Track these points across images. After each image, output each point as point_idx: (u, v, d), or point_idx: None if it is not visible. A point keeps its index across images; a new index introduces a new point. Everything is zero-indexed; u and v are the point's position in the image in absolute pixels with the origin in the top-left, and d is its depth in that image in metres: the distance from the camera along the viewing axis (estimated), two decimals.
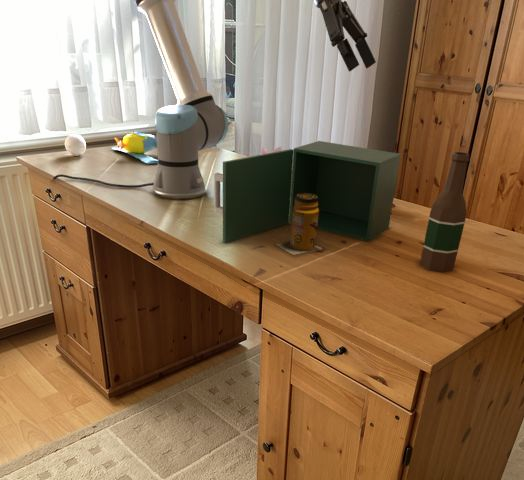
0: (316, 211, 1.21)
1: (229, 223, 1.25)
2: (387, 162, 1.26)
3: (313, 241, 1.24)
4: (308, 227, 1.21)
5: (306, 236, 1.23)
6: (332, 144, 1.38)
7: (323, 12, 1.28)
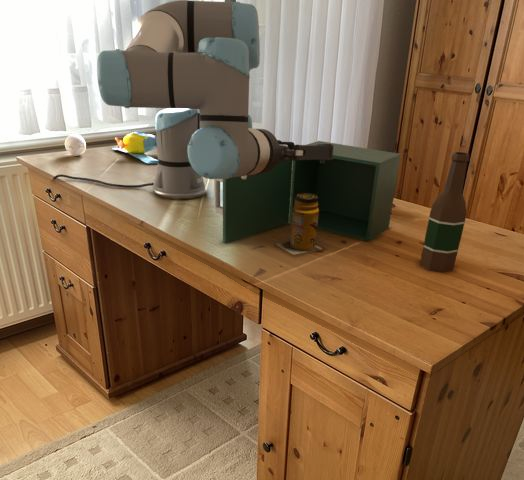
0: (316, 211, 1.21)
1: (229, 223, 1.25)
2: (387, 162, 1.26)
3: (313, 241, 1.24)
4: (308, 227, 1.21)
5: (306, 236, 1.23)
6: (332, 144, 1.38)
7: None
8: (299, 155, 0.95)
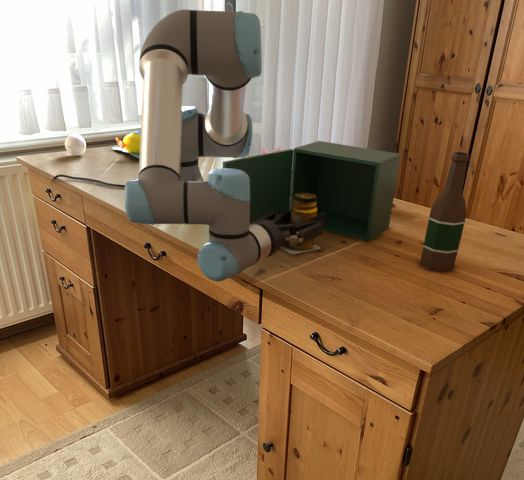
0: (314, 210, 1.21)
1: None
2: (387, 162, 1.26)
3: (312, 240, 1.24)
4: None
5: None
6: (332, 144, 1.38)
7: None
8: (302, 241, 1.12)
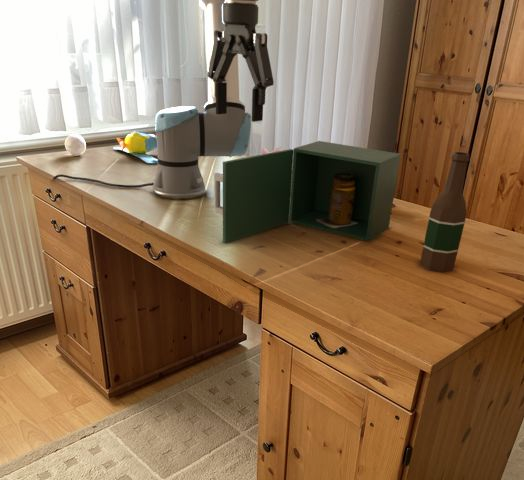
0: (353, 189, 1.35)
1: (229, 223, 1.25)
2: (387, 162, 1.26)
3: (350, 216, 1.38)
4: (346, 203, 1.36)
5: (344, 212, 1.37)
6: (332, 144, 1.38)
7: None
8: (262, 36, 1.10)
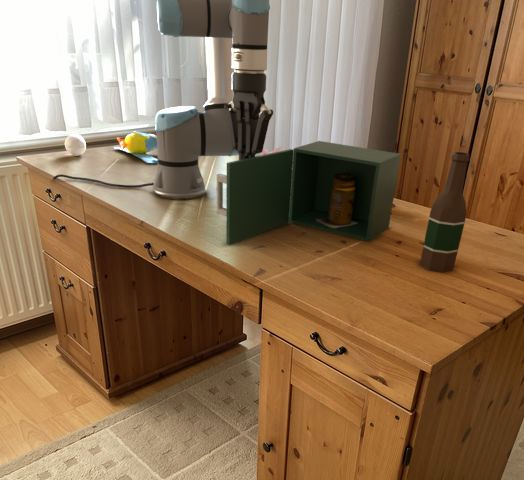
0: (353, 189, 1.35)
1: (233, 224, 1.24)
2: (387, 162, 1.26)
3: (350, 216, 1.38)
4: (346, 203, 1.36)
5: (344, 212, 1.37)
6: (332, 144, 1.38)
7: None
8: (268, 114, 1.17)
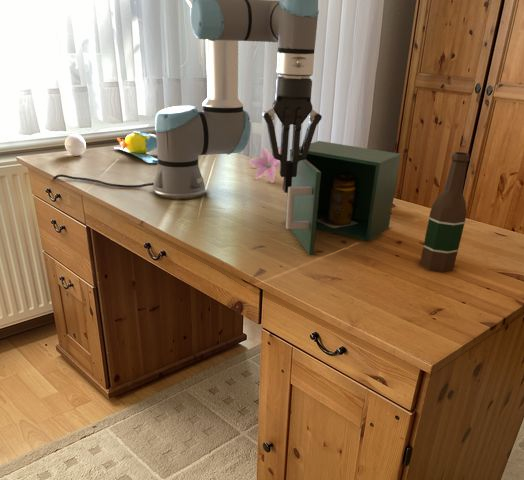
0: (353, 189, 1.35)
1: None
2: (387, 162, 1.26)
3: (350, 216, 1.38)
4: (346, 203, 1.36)
5: (344, 212, 1.37)
6: (332, 144, 1.38)
7: None
8: (320, 117, 1.17)
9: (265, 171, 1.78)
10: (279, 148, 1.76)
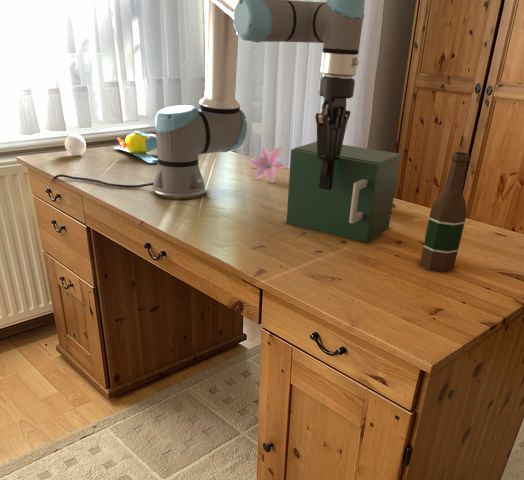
0: None
1: None
2: (387, 162, 1.26)
3: None
4: None
5: None
6: None
7: (318, 124, 1.16)
8: None
9: (265, 171, 1.78)
10: (279, 148, 1.76)
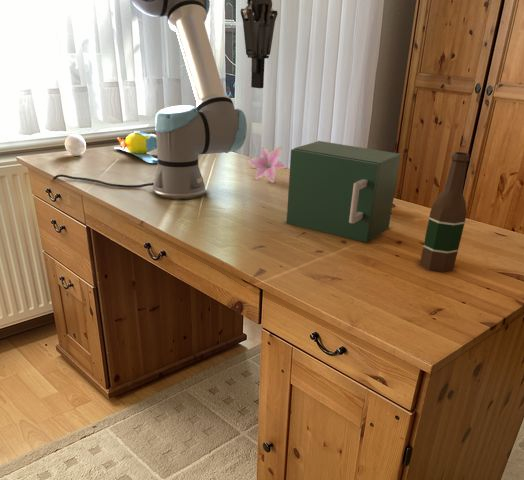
0: None
1: None
2: (387, 162, 1.26)
3: None
4: None
5: None
6: (332, 144, 1.38)
7: (244, 20, 1.25)
8: None
9: (265, 171, 1.78)
10: (279, 148, 1.76)
